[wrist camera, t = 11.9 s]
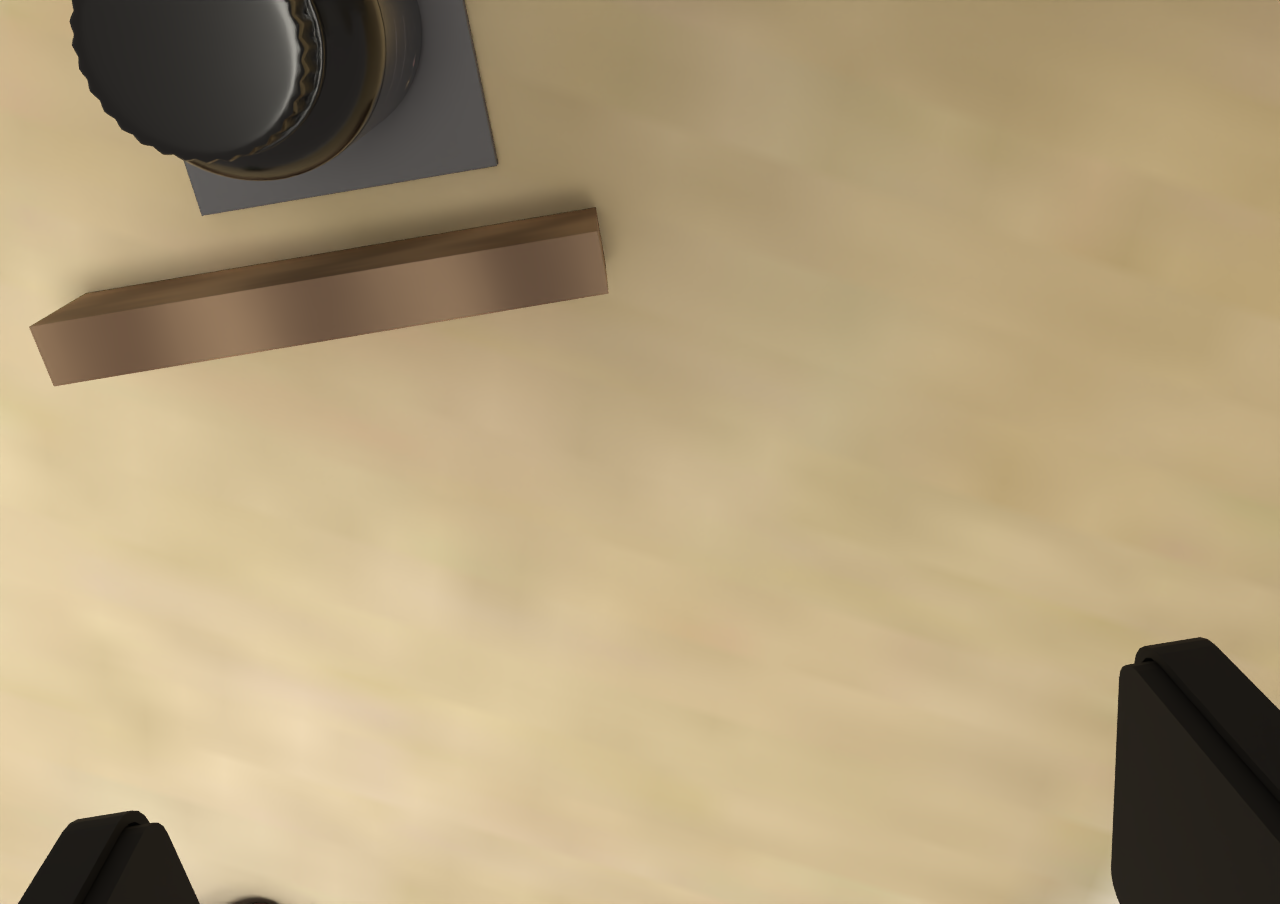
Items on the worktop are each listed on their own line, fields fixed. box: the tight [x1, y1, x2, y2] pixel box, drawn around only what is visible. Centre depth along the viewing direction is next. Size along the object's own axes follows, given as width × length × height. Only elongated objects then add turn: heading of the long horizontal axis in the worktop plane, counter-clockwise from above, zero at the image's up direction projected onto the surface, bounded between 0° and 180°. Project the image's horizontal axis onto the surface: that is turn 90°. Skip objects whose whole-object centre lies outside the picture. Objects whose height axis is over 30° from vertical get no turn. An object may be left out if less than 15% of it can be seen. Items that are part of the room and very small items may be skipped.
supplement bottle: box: [70, 0, 422, 181], centre depth 27 cm, size 7×7×12 cm
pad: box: [184, 0, 498, 216], centre depth 32 cm, size 10×10×1 cm
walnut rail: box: [29, 207, 608, 386], centre depth 34 cm, size 18×2×4 cm, turn 99°
